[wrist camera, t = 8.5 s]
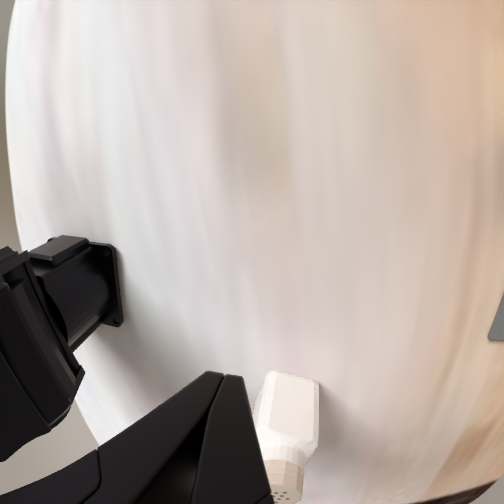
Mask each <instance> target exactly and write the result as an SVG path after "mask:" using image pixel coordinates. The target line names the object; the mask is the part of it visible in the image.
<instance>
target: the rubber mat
mask: <svg viewBox="0 0 504 504" xmlns="http://www.w3.org/2000/svg"><path fill="white" fill-rule="evenodd" d="M488 338H489V339H490V340H504V294H503V297H502V299H501V302H500V305H499V308H498V311H497V314H496V316H495V319H494V322H493V324H492V327H491V329H490V332H489V334H488Z"/></svg>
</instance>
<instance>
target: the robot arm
mask: <svg viewBox="0 0 504 504" xmlns="http://www.w3.org/2000/svg"><path fill="white" fill-rule="evenodd" d="M107 250H109V252H110V254H108V252H107ZM116 319H117V320H118V321H116ZM101 324H106V325H110V326H114V327H120V326H121V325H122V324H123V313H122V306H121V298H120V290H119V281H118V272H117V262H116V251H115V248H114V247H113V246H112V245H111V244H105V243H96V242H89V240H88V239H87V238H82V237H73V236H65V235H62V236H60V237H58V238H56V237H52V238H50V239H49V240H48V241H47V243H45V244H43V245H41V246H39V247H37V248H35V249H33V250H31V251H29V252H28V251H27V250H26V251H23V252H21V253H19V254H18V252H17V251H16V252H14V251H13V250H12V249H10V248H9V247H8V246H7V247H4V248H2V249H0V462H3V461H5V460H7V459H8V458H9V457H10V456H11V455H12V454H14V453H15V452H16V451H17V450H18V449H20V448H21V447H22V446H23V445H25V444H26V443H28V442H30V441H31V440H33V439H35V438H36V437H39V436H41V435H44V434H46V433H49V432H50V431H51V429H53V428H54V427H55V426H57V425H58V424H59V423H60V422H61V421H62V420H63V419H64V418H65V417H66V416H67V414H68V412H69V410H70V408H71V405H72V403H73V400H74V398H75V396H76V393H77V391H78V388H79V386H80V384H81V381H82V379H83V377H84V375H85V371H84V369H83V368H82V366H81V365H79V363H78V361H77V360H76V358H75V356H74V354H73V352H74V351H75V350H76V349H77V348H78V347H79V346H80V345H81V344H82V343H83V342H84V341H85V340H86V339H87V338H88V337H89V336H90V335H91V334H92V333H93V332H94V331H95V330H96V329H97V328H98V327H99V326H100V325H101ZM271 493H272V491H271V487H270V484H269V480H268V476H267V472H266V468H265V465H264V461H263V457H262V453H261V449H260V445H259V441H258V437H257V433H256V429H255V425H254V421H253V417H252V412H251V408H250V404H249V400H248V396H247V392H246V387H245V383H244V379H243V377H242V376H237V375H230V374H226V375H225V376H224V374H223V373H219V372H213V371H206V372H205V373H203V374H202V375H201V376H199V377H198V378H197V379H195V380H194V381H193V382H191V383H190V384H188V385H187V386H186V387H184V388H183V389H182V390H180V391H179V392H178V393H176V394H175V395H173V396H172V397H171V398H169V399H168V400H167V401H165V402H164V403H162V404H161V405H160V406H158V407H157V408H155V409H154V410H153V411H151V412H150V413H148V414H147V415H145V416H144V417H143V418H141V419H140V420H138V421H137V422H135V423H134V424H132V425H131V426H129V427H128V428H127V429H125V430H124V431H122V432H121V433H119V434H118V435H116V436H115V437H113V438H112V439H110V440H109V441H107V442H106V443H104V444H103V445H101V446H100V447H98V450H96V449H95V450H94V451H92V452H90V453H88V454H87V455H85V456H84V457H82V458H81V459H79V460H77V461H75V462H74V463H72V464H70V465H68V466H67V467H65V468H63V469H61V470H59V471H57V472H55V473H53V474H51V475H49V476H47V477H45V478H42V479H40V480H38V481H35V482H33V483H31V484H28V485H26V486H23V487H21V488H19V489H16V490H13V491H11V492H8V493H6V494H3V495H0V504H275V502H274V498H273V495H272V494H271Z"/></svg>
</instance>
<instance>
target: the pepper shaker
mask: <svg viewBox="0 0 504 504" xmlns="http://www.w3.org/2000/svg"><path fill="white" fill-rule="evenodd" d="M252 417H253V421H254V425H255V429H256V433H257V437H258V441H259V445H260V449H261V453H262V457H263V461H264V465H265V468H266V472H267V476H268V480H269V484H270V487H271V491H272V493H271V494H272V495H273V498H274V502H275V504H295V503H296V502H298V501H300V500H301V497H302V491H303V477H304V469H303V466H304V465H305V464H306V463H307V462H308V460H309V459H310V458H311V456H312V455H313V453H314V452H315V450H316V448H317V447H318V433H319V385H318V383H317V382H316V381H314V380H312V379H308V378H304V377H300V376H296V375H293V374H289V373H285V372H282V371H278V370H271V371H270V372H269V373H268V374H267V375H266V378H265V380H264V382H263V385H262V387H261V389H260V392H259V394H258V396H257V399H256V402H255V406H254V411H253V415H252Z"/></svg>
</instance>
